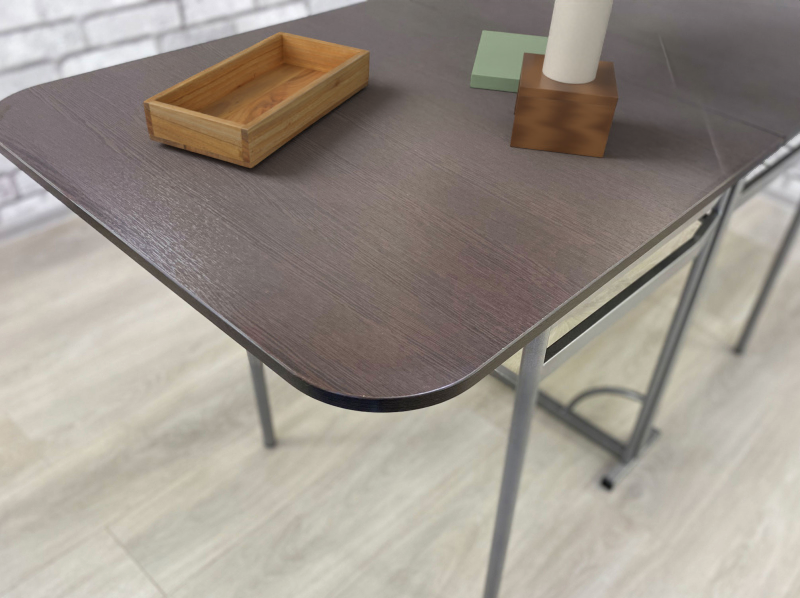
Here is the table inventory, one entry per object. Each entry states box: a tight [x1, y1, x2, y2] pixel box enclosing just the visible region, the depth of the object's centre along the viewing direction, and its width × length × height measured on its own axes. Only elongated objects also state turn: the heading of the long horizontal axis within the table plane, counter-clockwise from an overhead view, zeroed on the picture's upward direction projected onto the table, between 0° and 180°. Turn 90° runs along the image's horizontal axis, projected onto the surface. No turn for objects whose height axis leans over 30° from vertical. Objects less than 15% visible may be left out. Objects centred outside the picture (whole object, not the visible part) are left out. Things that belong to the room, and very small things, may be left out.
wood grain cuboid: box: [509, 52, 619, 158], centre depth 95 cm, size 12×12×8 cm
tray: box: [142, 31, 371, 169], centre depth 96 cm, size 31×15×6 cm, turn 154°
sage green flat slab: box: [469, 29, 549, 94], centre depth 113 cm, size 16×20×2 cm
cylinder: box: [542, 0, 615, 84], centre depth 87 cm, size 7×7×16 cm
